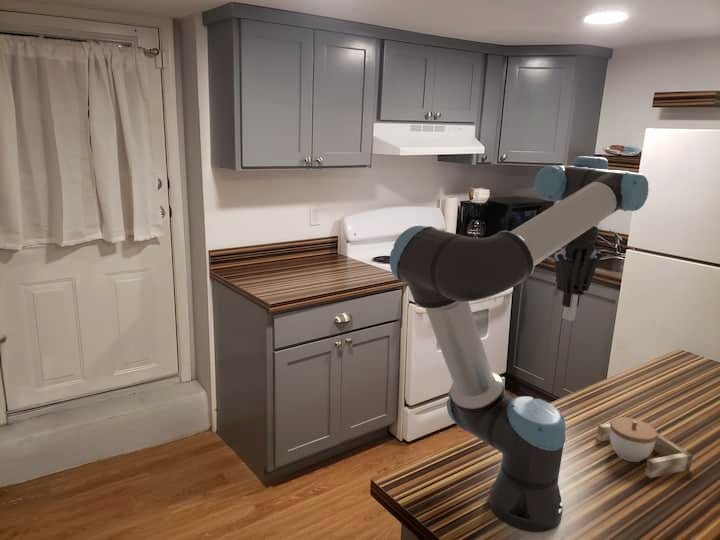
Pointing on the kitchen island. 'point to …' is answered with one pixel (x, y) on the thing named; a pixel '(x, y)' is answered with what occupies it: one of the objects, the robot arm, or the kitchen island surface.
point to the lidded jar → (632, 438)
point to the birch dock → (672, 453)
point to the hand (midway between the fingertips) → (568, 318)
